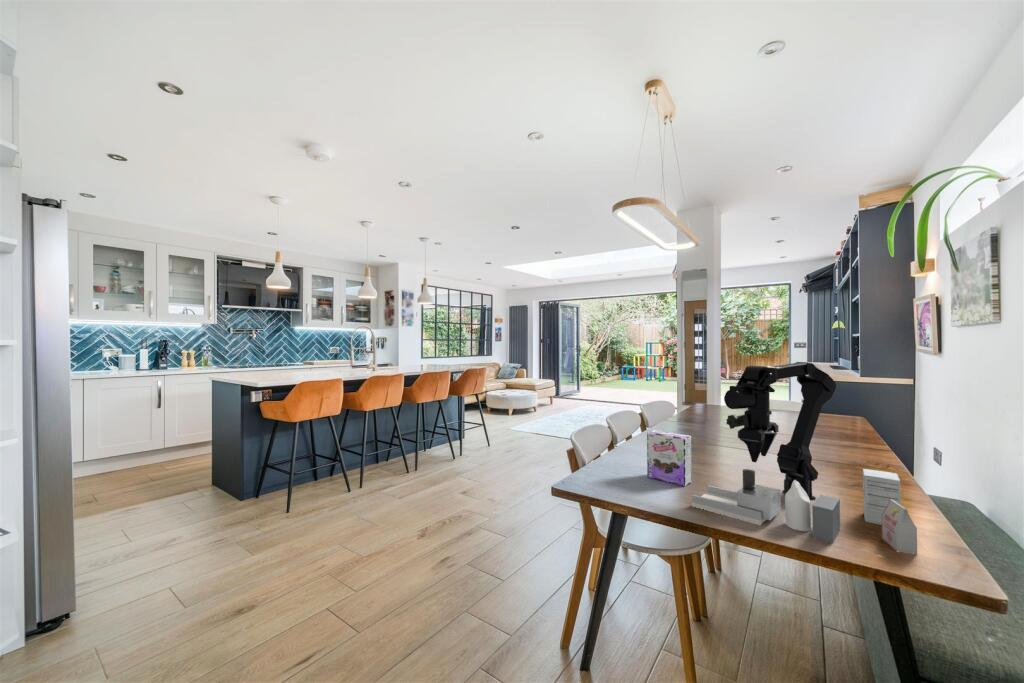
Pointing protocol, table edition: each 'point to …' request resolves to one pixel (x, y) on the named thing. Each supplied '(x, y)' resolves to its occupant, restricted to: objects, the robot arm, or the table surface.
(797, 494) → the white pouch
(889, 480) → the supplement box
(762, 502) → the block
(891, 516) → the gable top carton
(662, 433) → the candy box
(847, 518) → the table surface
